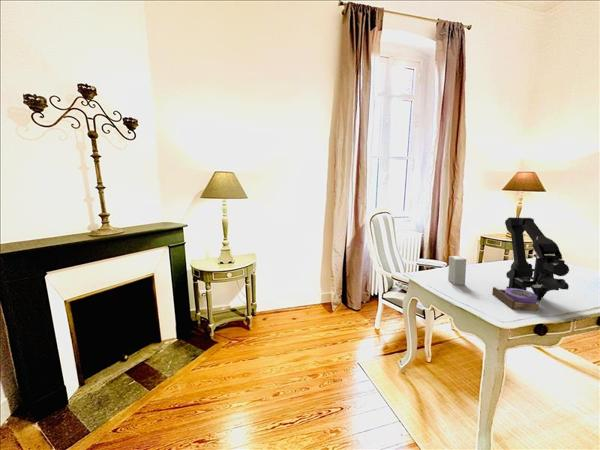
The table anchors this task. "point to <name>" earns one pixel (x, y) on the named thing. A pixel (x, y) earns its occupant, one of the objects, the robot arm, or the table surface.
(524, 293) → the tape roll
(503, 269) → the table surface
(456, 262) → the skincare box
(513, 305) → the brown flat open tray
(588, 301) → the table surface
